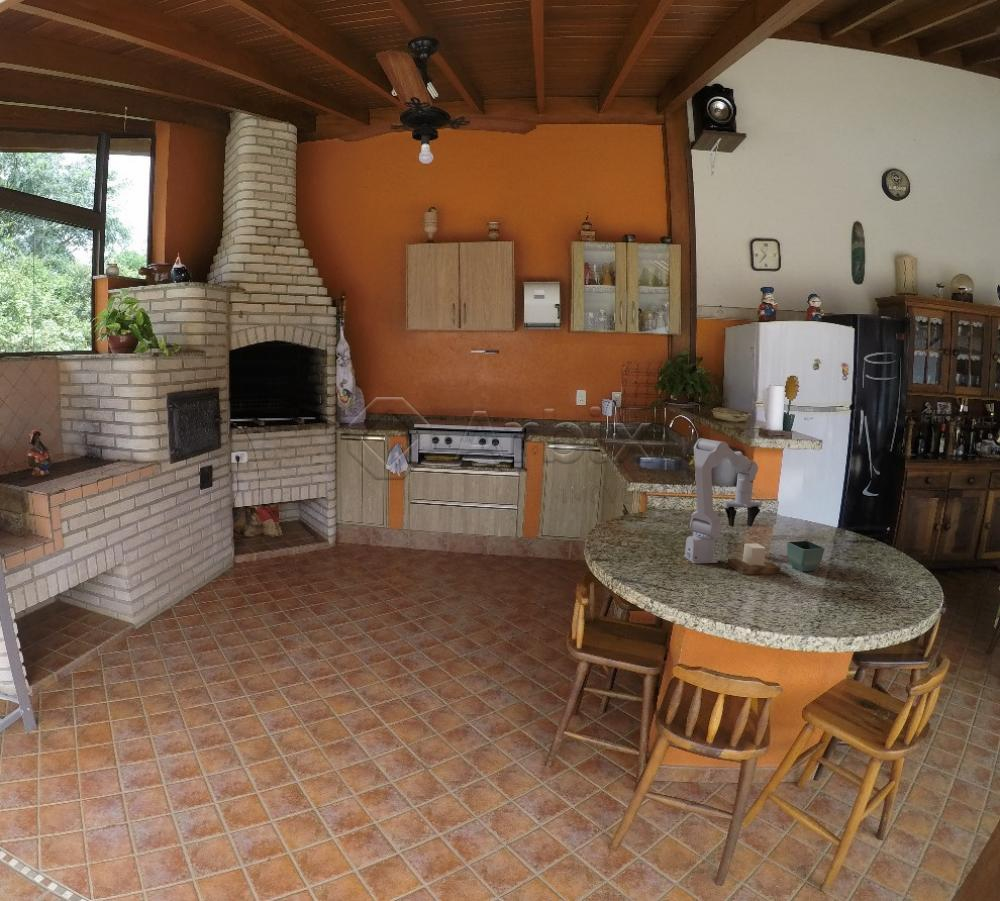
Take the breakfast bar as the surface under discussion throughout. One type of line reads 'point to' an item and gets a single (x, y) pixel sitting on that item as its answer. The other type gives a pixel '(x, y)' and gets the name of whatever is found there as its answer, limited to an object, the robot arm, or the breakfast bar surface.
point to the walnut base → (753, 567)
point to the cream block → (754, 554)
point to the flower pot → (804, 555)
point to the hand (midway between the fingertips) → (740, 525)
